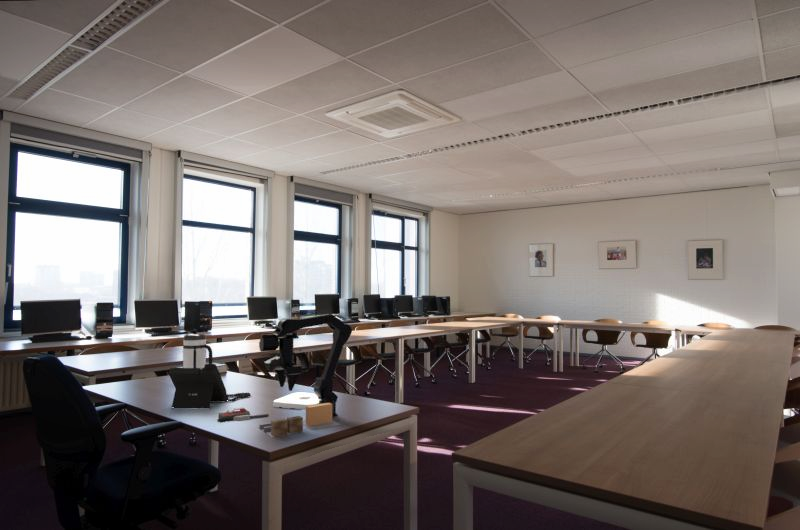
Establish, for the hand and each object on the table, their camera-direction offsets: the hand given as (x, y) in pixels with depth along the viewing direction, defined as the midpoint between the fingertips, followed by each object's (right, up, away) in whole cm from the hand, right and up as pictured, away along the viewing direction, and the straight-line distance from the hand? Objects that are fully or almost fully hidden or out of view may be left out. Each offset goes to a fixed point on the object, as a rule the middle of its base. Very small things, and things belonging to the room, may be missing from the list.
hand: (286, 388), depth 198 cm
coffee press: (-72, -17, +86) cm, 113 cm away
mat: (+14, -13, -5) cm, 20 cm away
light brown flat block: (+14, -12, -5) cm, 19 cm away
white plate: (+1, -15, +31) cm, 34 cm away
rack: (+1, -12, -13) cm, 18 cm away
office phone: (-43, -15, +35) cm, 58 cm away
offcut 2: (+7, -12, -16) cm, 21 cm away
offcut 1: (+2, -12, -19) cm, 23 cm away
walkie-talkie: (-19, -14, +4) cm, 24 cm away
